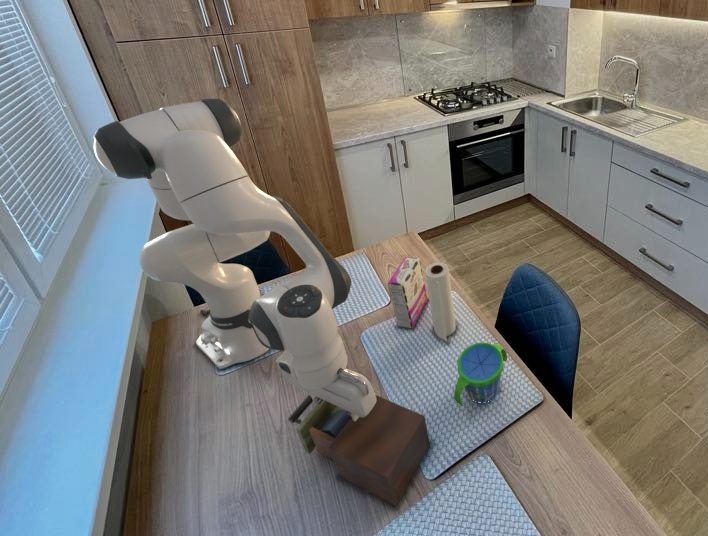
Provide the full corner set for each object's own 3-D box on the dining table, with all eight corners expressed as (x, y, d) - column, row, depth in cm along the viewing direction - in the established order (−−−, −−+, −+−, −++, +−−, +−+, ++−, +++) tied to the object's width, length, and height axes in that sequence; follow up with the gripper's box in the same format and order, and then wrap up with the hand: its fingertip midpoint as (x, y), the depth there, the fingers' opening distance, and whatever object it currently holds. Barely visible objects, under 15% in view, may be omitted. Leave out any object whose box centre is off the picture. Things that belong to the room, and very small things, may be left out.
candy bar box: (412, 298, 124) (404, 255, 117) (427, 300, 123) (420, 257, 116) (396, 327, 114) (386, 282, 107) (412, 329, 113) (403, 284, 106)
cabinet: (339, 476, 81) (328, 447, 77) (378, 420, 91) (370, 392, 86) (395, 507, 76) (387, 477, 72) (430, 444, 86) (424, 415, 81)
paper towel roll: (441, 317, 117) (432, 259, 108) (459, 323, 115) (452, 264, 106) (427, 337, 111) (417, 276, 102) (447, 343, 109) (438, 282, 99)
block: (331, 447, 83) (318, 430, 83) (348, 427, 87) (335, 410, 87) (343, 447, 81) (329, 429, 80) (359, 426, 85) (347, 409, 84)
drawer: (287, 441, 86) (276, 418, 83) (325, 397, 95) (317, 374, 92) (352, 476, 80) (344, 453, 76) (386, 425, 89) (380, 402, 85)
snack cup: (470, 430, 88) (467, 400, 84) (443, 397, 95) (438, 367, 91) (521, 383, 98) (521, 354, 93) (493, 356, 105) (491, 328, 100)
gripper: (376, 365, 75) (388, 412, 81) (296, 333, 82) (312, 378, 88) (352, 396, 70) (367, 443, 76) (268, 358, 77) (288, 404, 83)
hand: (337, 408), depth 82 cm, fingers open, 8 cm apart
